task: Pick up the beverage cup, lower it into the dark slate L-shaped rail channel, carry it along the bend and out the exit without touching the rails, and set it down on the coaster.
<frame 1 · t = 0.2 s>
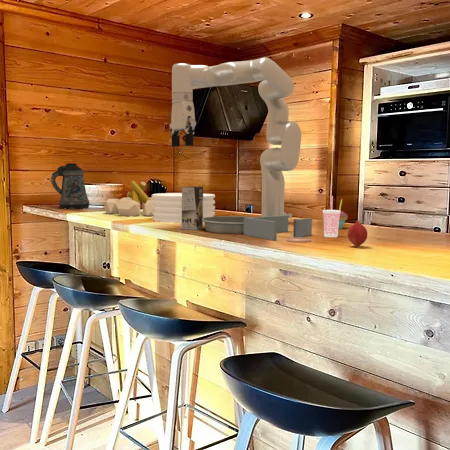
hand: (182, 145, 191), 31 cm above the table, tool pointing down, fingers open, 9 cm apart
rail course: (270, 235, 178), on the table
cake pan: (234, 231, 194), on the table
coffee box: (192, 229, 198), on the table
plate stack: (183, 220, 232), on the table
onion: (356, 247, 155), on the table
beer stein: (72, 208, 289), on the table
beverage cup: (330, 237, 178), on the table
campfire: (141, 214, 261), on the table
cupcake: (336, 228, 204), on the table
coaster: (298, 240, 167), on the table
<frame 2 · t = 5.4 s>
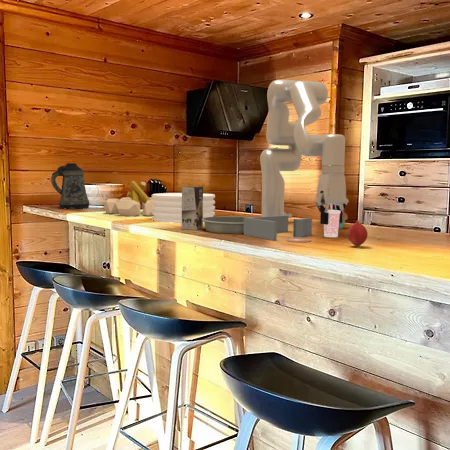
hand: (331, 223, 178), 5 cm above the table, tool pointing down, fingers closed on beverage cup, 6 cm apart
beverage cup: (330, 237, 178), on the table, touching gripper
everything else where it was.
when the fingers open (6 cm above the table, at t = 15.2 s): beverage cup stays where it is, resting on coaster.
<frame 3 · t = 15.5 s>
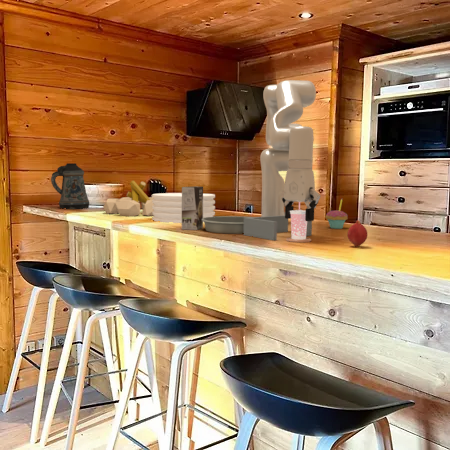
hand: (299, 219, 166), 7 cm above the table, tool pointing down, fingers open, 9 cm apart
beverage cup: (298, 239, 167), resting on coaster
everything else where it was.
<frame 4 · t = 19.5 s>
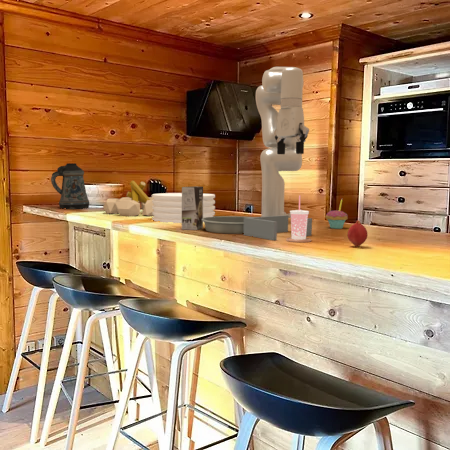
hand: (290, 154, 183), 28 cm above the table, tool pointing down, fingers open, 9 cm apart
nothing on the table moved.
at the end: beverage cup 0.3 cm from the coaster (horizontally); beverage cup tilted 0°; beverage cup touching coaster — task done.
